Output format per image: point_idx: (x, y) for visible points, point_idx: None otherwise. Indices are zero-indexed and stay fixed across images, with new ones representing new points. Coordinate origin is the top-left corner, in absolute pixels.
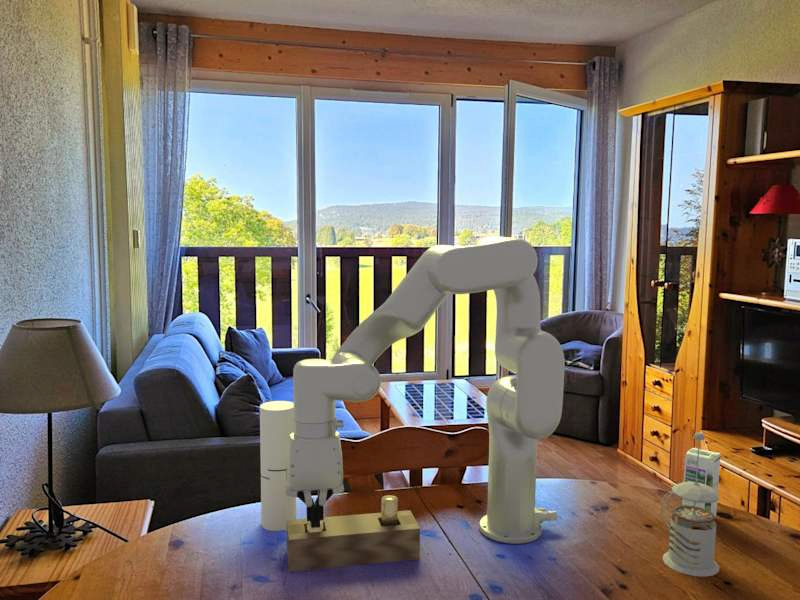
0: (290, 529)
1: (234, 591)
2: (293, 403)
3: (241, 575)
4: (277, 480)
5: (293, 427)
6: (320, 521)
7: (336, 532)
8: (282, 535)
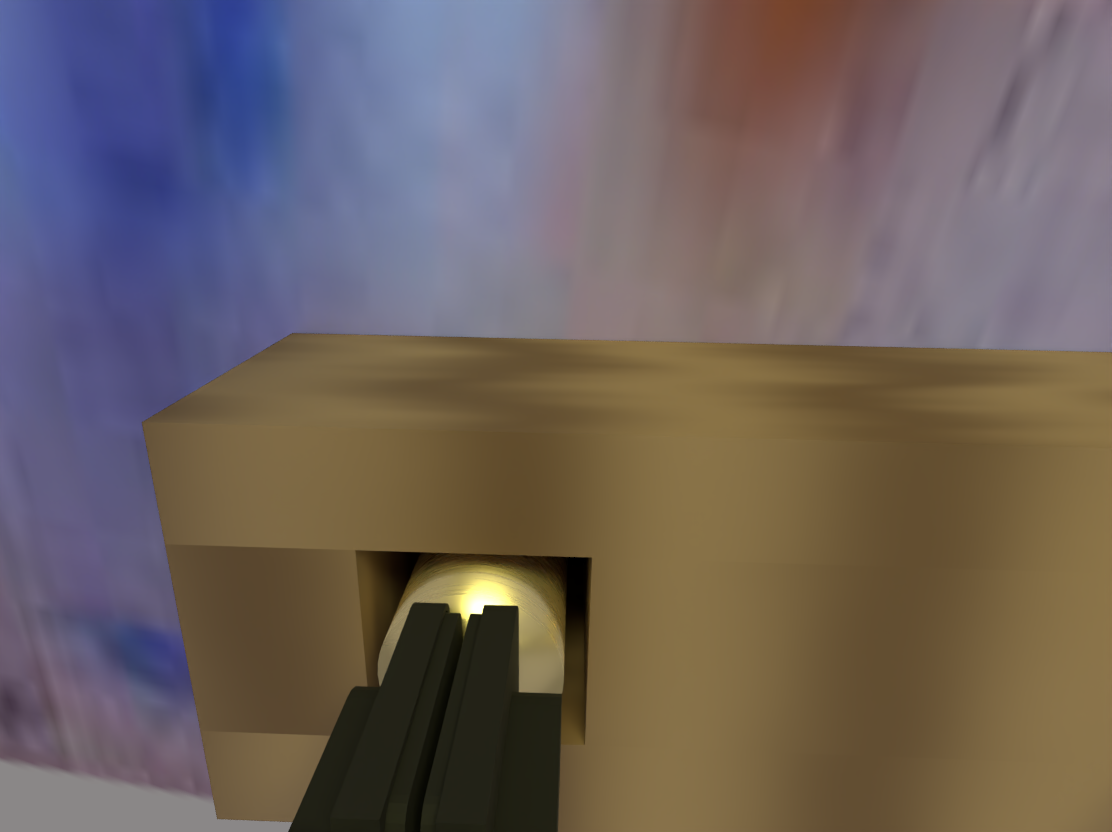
0: (212, 642)
1: (23, 748)
2: None
3: (18, 602)
4: None
5: None
6: (538, 631)
7: (679, 788)
8: (232, 19)
